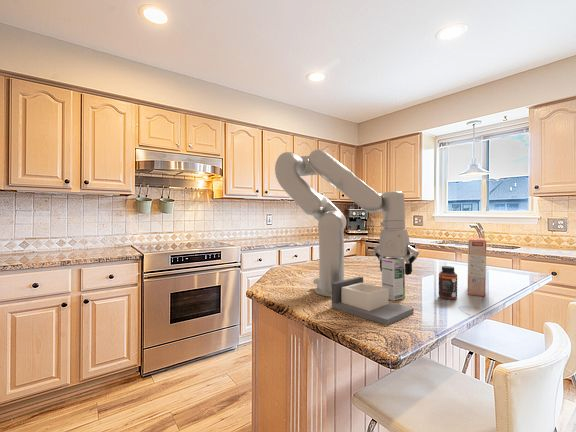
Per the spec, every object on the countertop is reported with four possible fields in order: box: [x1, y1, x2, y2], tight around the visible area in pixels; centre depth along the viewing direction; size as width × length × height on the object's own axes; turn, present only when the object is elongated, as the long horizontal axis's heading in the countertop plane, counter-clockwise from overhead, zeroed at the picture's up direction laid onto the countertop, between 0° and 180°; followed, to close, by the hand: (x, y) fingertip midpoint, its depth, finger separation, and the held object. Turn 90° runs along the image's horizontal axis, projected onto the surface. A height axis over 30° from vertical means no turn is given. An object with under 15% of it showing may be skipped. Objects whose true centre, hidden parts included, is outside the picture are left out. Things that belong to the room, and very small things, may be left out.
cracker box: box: [467, 237, 487, 297], centre depth 116 cm, size 14×6×21 cm, turn 148°
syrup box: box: [381, 257, 406, 302], centre depth 108 cm, size 6×6×14 cm
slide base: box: [331, 276, 415, 326], centre depth 94 cm, size 20×15×8 cm
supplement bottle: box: [438, 265, 458, 301], centre depth 108 cm, size 6×6×11 cm
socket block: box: [341, 282, 390, 311], centre depth 96 cm, size 11×11×5 cm
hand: (395, 272), depth 108 cm, fingers open, 9 cm apart
